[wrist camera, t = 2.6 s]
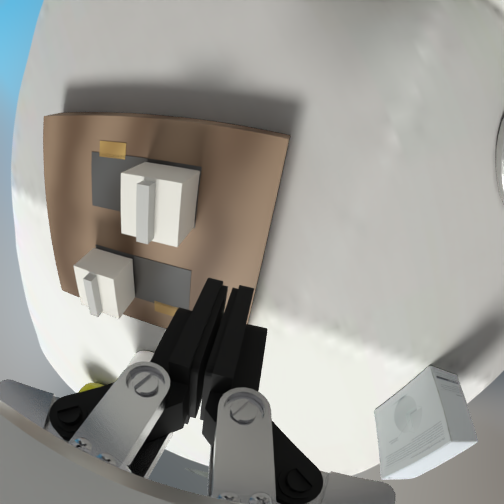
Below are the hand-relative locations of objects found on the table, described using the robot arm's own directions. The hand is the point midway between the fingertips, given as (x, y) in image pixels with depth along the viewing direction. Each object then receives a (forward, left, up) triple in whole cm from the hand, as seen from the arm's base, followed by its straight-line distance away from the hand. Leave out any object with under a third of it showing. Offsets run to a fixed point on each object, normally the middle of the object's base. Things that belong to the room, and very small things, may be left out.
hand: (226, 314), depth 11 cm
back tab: (+11, +8, -9) cm, 17 cm away
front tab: (+6, 0, -9) cm, 11 cm away
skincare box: (-24, +19, -12) cm, 33 cm away
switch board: (+9, +4, -12) cm, 16 cm away
